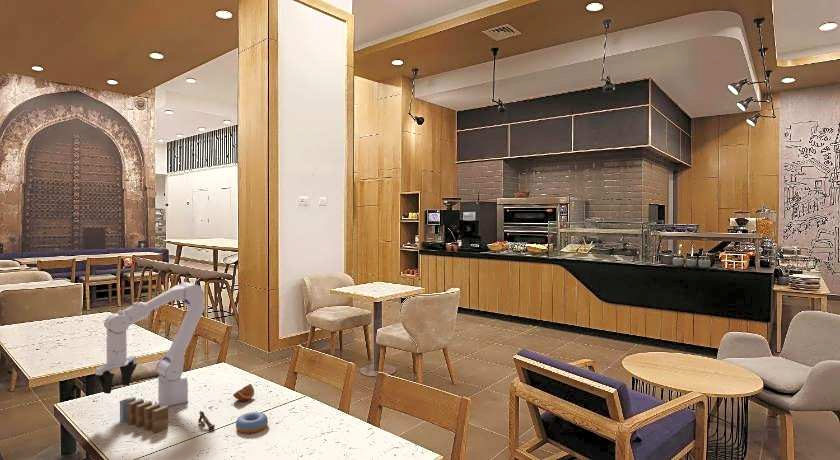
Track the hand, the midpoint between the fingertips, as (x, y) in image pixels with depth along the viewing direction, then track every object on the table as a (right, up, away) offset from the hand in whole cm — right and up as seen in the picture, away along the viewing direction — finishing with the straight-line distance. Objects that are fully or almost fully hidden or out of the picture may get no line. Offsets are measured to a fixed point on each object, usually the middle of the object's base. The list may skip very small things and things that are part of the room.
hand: (116, 389), depth 162 cm
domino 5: (+20, -10, -9) cm, 24 cm away
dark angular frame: (+33, -11, -6) cm, 35 cm away
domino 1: (+5, -10, -2) cm, 11 cm away
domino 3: (+12, -10, -5) cm, 17 cm away
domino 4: (+16, -10, -7) cm, 20 cm away
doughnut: (+48, -11, -6) cm, 50 cm away
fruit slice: (+37, -10, +16) cm, 42 cm away
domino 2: (+9, -10, -4) cm, 14 cm away
